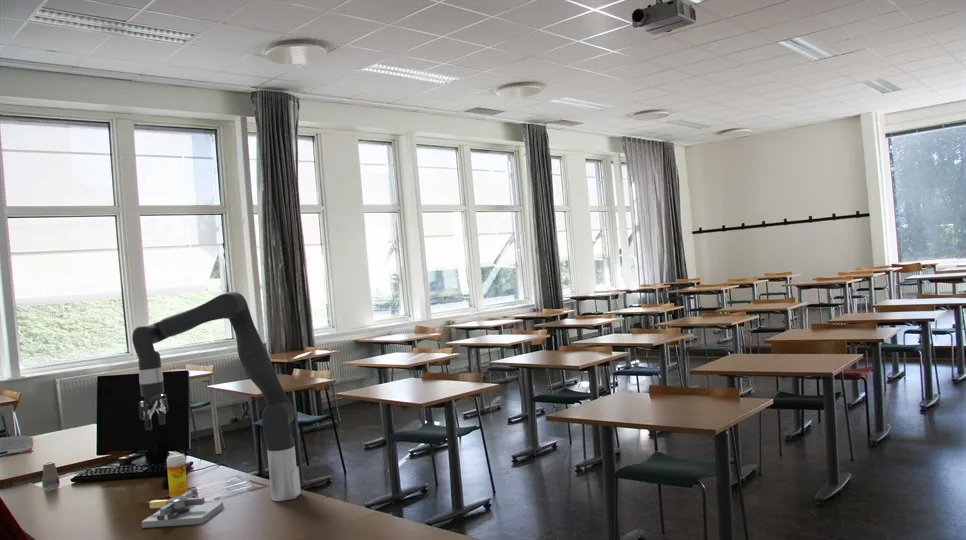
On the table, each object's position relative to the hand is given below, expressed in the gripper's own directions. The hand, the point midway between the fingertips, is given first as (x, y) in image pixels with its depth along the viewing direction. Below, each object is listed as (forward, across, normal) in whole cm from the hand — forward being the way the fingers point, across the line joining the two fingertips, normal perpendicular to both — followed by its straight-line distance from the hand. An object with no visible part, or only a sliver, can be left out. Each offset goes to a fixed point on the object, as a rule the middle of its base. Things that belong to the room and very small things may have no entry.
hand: (155, 427), depth 242 cm
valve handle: (+26, -14, -13) cm, 32 cm away
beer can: (+28, +11, 0) cm, 30 cm away
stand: (+28, -14, -15) cm, 35 cm away
